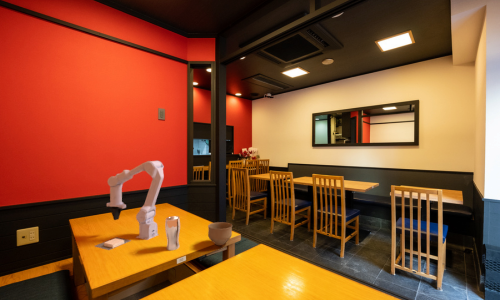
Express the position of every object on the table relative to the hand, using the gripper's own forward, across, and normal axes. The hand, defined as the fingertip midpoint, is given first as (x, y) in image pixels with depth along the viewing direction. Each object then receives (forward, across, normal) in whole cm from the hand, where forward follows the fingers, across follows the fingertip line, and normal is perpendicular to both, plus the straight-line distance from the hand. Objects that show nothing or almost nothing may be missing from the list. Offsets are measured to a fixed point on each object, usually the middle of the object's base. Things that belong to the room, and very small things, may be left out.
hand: (116, 219), depth 124 cm
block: (+8, -9, +10) cm, 15 cm away
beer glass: (+10, -43, 0) cm, 44 cm away
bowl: (+10, -63, -13) cm, 65 cm away
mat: (+9, -10, +8) cm, 16 cm away
